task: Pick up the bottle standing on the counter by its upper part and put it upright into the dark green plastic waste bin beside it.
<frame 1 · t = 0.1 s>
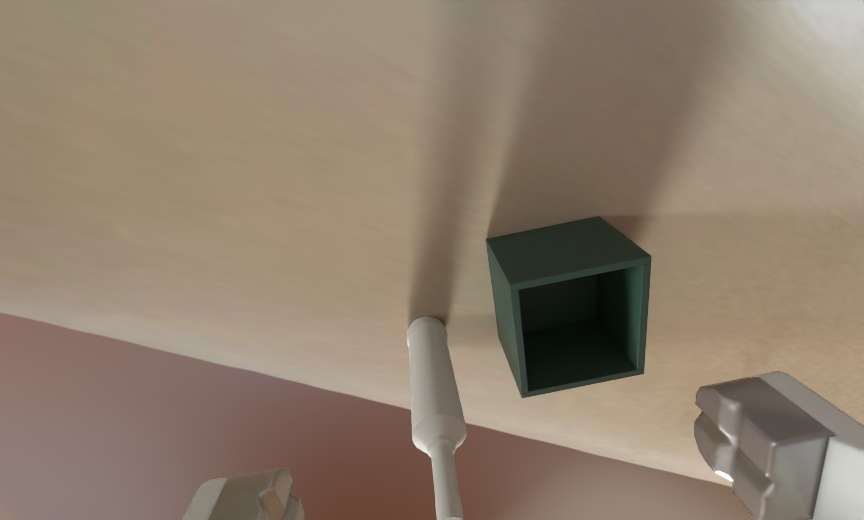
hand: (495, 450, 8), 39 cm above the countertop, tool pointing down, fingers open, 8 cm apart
bottle: (426, 330, 54), on the countertop
bin: (545, 280, 52), on the countertop
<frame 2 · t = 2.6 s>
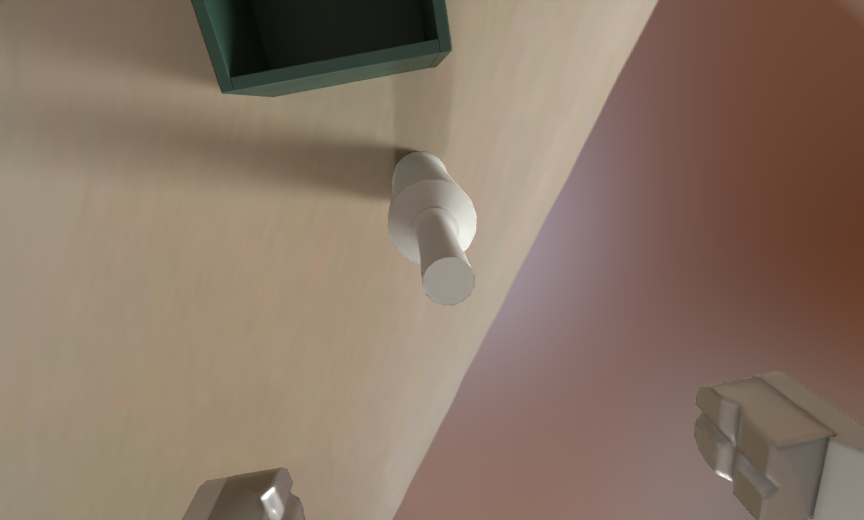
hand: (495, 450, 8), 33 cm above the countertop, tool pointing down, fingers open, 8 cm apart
bottle: (419, 177, 40), on the countertop
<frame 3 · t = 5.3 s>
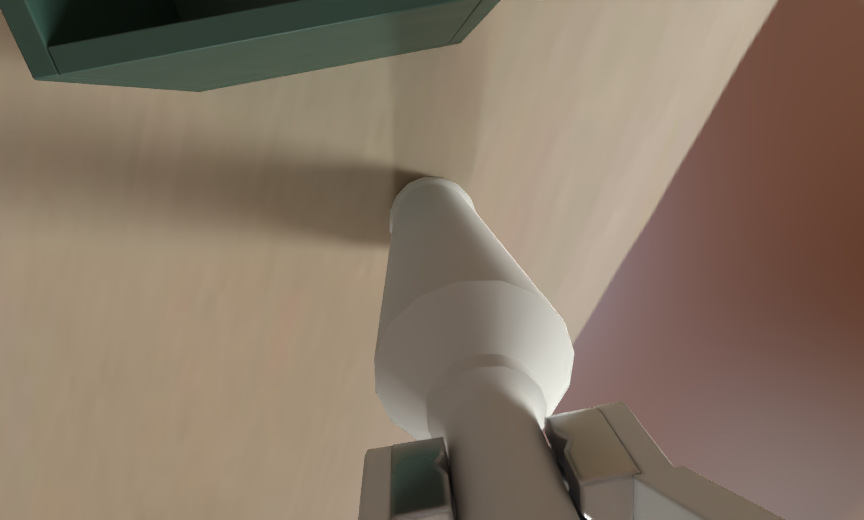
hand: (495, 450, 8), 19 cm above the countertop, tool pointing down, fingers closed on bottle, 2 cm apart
bottle: (430, 214, 26), on the countertop, touching gripper
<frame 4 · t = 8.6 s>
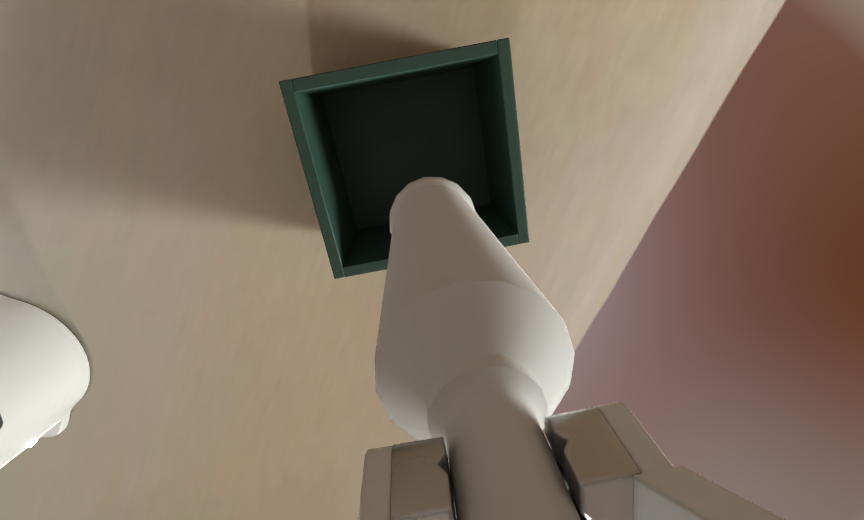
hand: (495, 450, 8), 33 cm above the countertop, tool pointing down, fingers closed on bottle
bottle: (430, 214, 26), point 14 cm above the countertop, touching gripper
bin: (411, 151, 39), on the countertop
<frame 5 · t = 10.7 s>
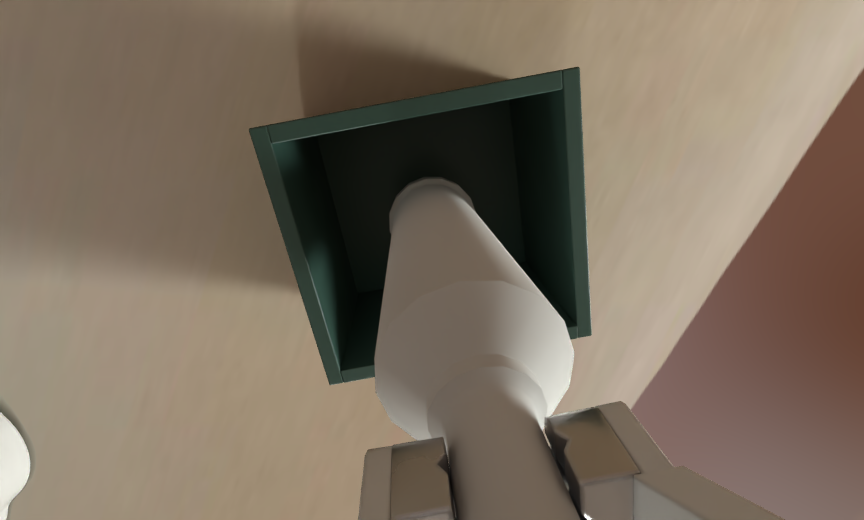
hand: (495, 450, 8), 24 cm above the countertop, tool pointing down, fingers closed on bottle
bottle: (430, 214, 26), point 5 cm above the countertop, touching gripper
bin: (427, 198, 31), on the countertop
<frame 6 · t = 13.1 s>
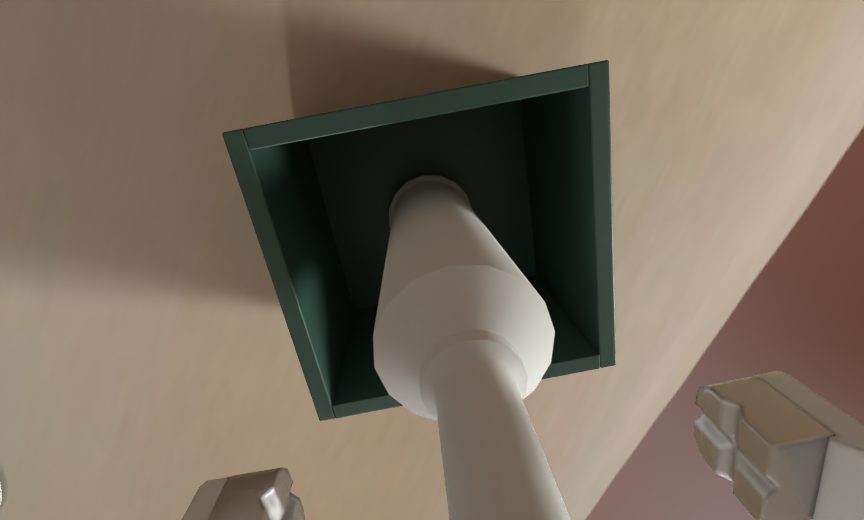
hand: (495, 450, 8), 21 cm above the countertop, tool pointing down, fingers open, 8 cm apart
bottle: (428, 210, 27), point 1 cm above the countertop, touching bin
bin: (429, 206, 28), on the countertop
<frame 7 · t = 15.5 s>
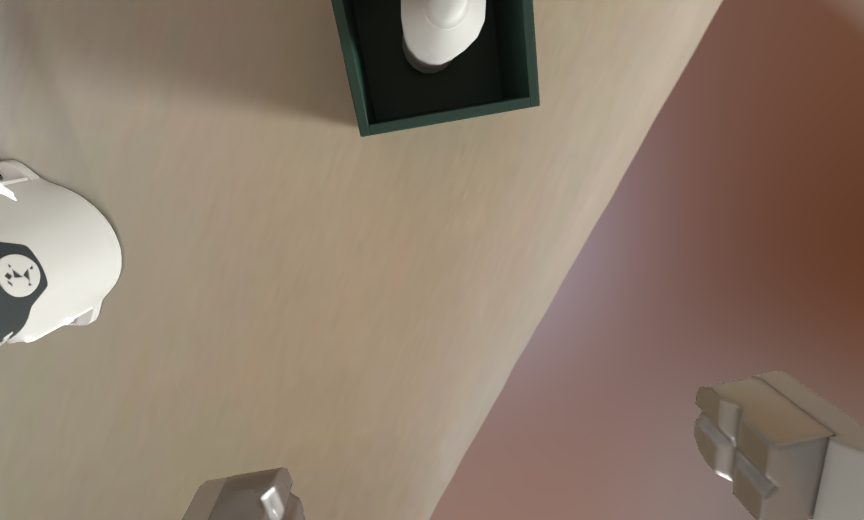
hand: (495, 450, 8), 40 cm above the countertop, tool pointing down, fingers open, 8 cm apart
bottle: (428, 45, 41), point 1 cm above the countertop, touching bin
bin: (428, 46, 42), on the countertop
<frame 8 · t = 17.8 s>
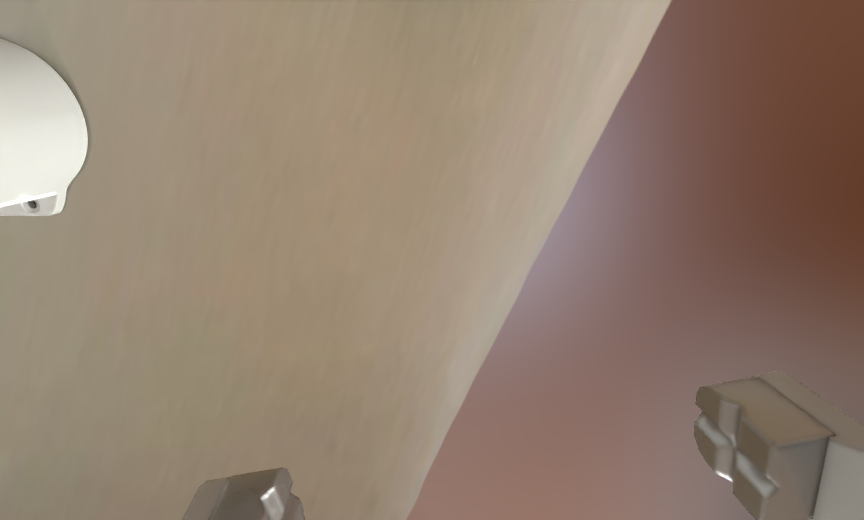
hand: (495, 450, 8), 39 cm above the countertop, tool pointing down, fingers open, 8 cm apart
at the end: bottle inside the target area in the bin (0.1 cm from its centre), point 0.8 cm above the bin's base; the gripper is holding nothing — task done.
